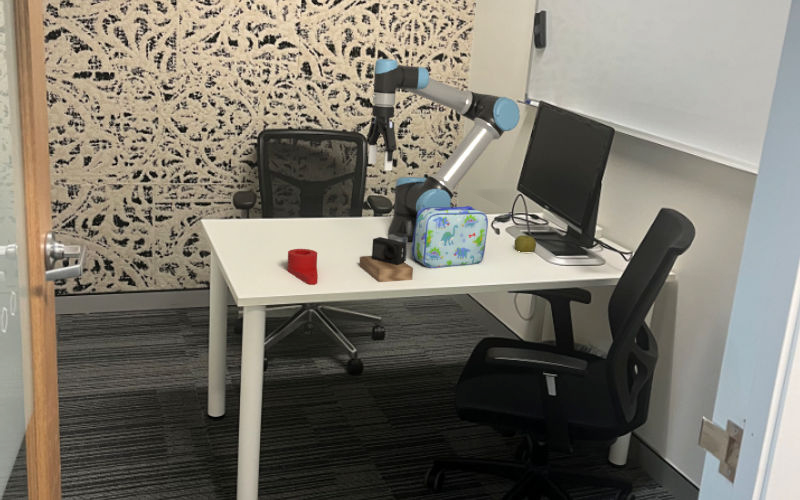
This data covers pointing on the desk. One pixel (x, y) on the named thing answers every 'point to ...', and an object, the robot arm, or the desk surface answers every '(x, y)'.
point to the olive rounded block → (525, 243)
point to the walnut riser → (385, 270)
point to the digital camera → (388, 250)
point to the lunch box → (449, 236)
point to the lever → (303, 265)
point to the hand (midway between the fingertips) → (379, 167)
